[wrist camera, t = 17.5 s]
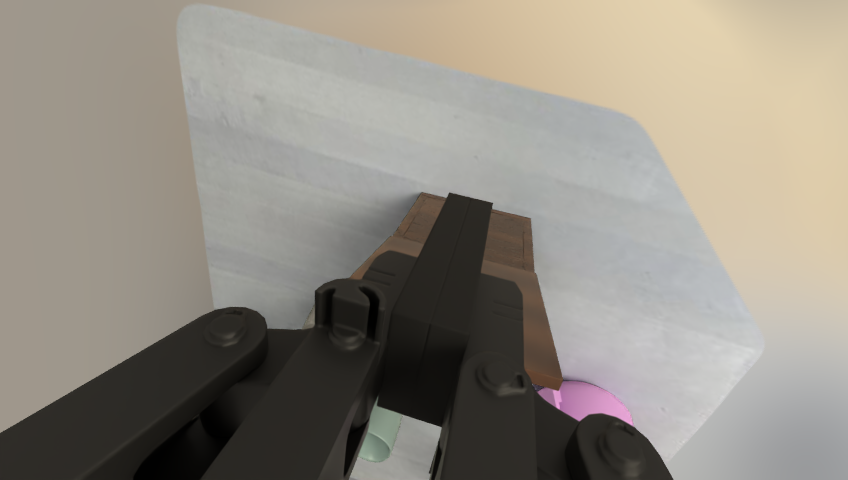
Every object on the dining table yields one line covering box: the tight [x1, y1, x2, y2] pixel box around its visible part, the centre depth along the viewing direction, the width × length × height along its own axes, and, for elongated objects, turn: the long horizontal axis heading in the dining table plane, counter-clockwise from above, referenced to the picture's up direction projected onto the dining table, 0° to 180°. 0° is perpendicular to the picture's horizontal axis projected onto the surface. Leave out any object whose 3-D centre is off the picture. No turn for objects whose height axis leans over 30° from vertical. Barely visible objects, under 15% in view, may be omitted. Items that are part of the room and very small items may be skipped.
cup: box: [358, 397, 402, 462], centre depth 62 cm, size 8×8×10 cm
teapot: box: [537, 381, 634, 427], centre depth 53 cm, size 22×16×12 cm
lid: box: [350, 236, 563, 391], centre depth 27 cm, size 15×14×1 cm
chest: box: [393, 192, 535, 273], centre depth 44 cm, size 14×14×13 cm
